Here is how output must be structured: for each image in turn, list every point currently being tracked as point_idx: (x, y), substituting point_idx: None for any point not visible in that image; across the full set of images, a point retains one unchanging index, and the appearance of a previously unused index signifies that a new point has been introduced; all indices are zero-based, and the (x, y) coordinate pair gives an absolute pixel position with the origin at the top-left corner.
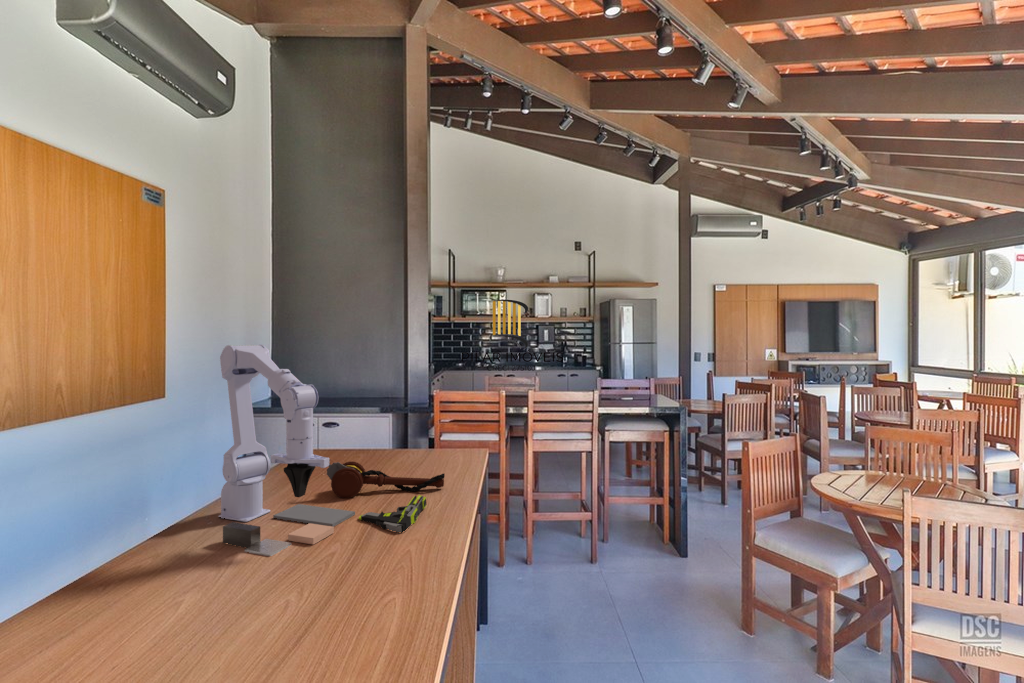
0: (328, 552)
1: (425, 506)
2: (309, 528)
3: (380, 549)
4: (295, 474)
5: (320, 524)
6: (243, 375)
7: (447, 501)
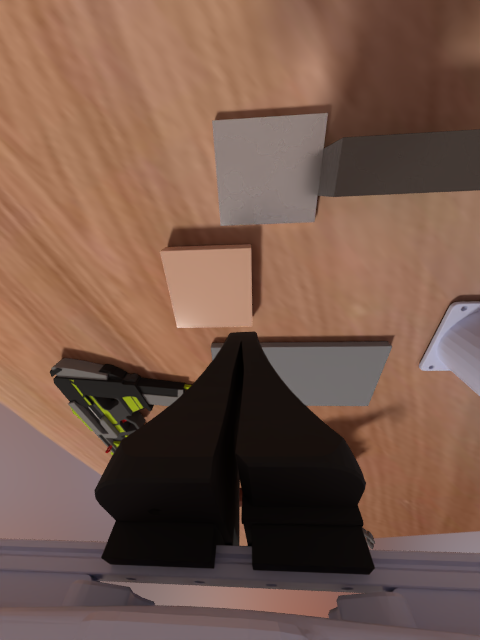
0: (93, 223)
1: None
2: (225, 300)
3: (14, 284)
4: (204, 421)
5: None
6: None
7: None
